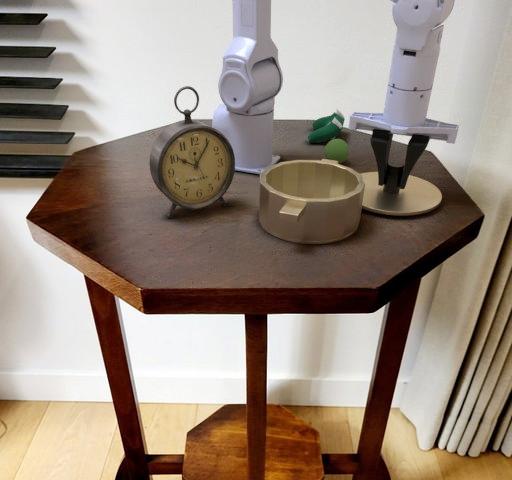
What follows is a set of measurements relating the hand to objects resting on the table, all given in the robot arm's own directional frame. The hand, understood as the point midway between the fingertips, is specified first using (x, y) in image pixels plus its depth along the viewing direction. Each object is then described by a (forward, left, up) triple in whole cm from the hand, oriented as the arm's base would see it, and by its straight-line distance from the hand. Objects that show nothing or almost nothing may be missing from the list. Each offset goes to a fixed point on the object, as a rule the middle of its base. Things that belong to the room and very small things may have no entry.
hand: (392, 184), depth 80 cm
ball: (-11, +10, 0) cm, 15 cm away
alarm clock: (-25, -15, -2) cm, 29 cm away
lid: (0, 0, -1) cm, 1 cm away
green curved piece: (-16, +22, -2) cm, 27 cm away
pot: (-9, -12, -2) cm, 15 cm away
